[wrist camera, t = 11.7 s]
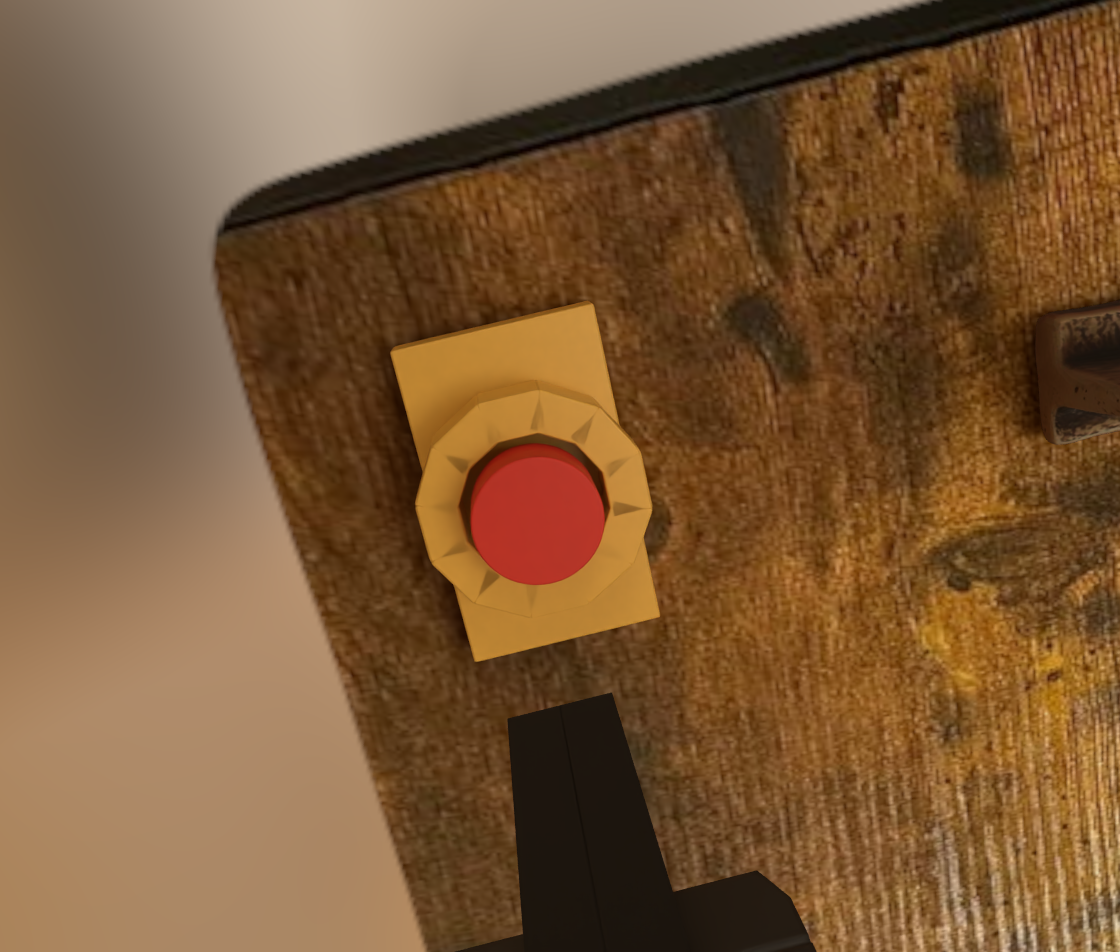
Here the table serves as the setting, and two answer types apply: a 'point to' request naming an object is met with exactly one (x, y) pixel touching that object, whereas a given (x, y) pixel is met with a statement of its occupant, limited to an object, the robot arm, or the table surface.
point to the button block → (515, 419)
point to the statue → (1079, 372)
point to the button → (536, 514)
